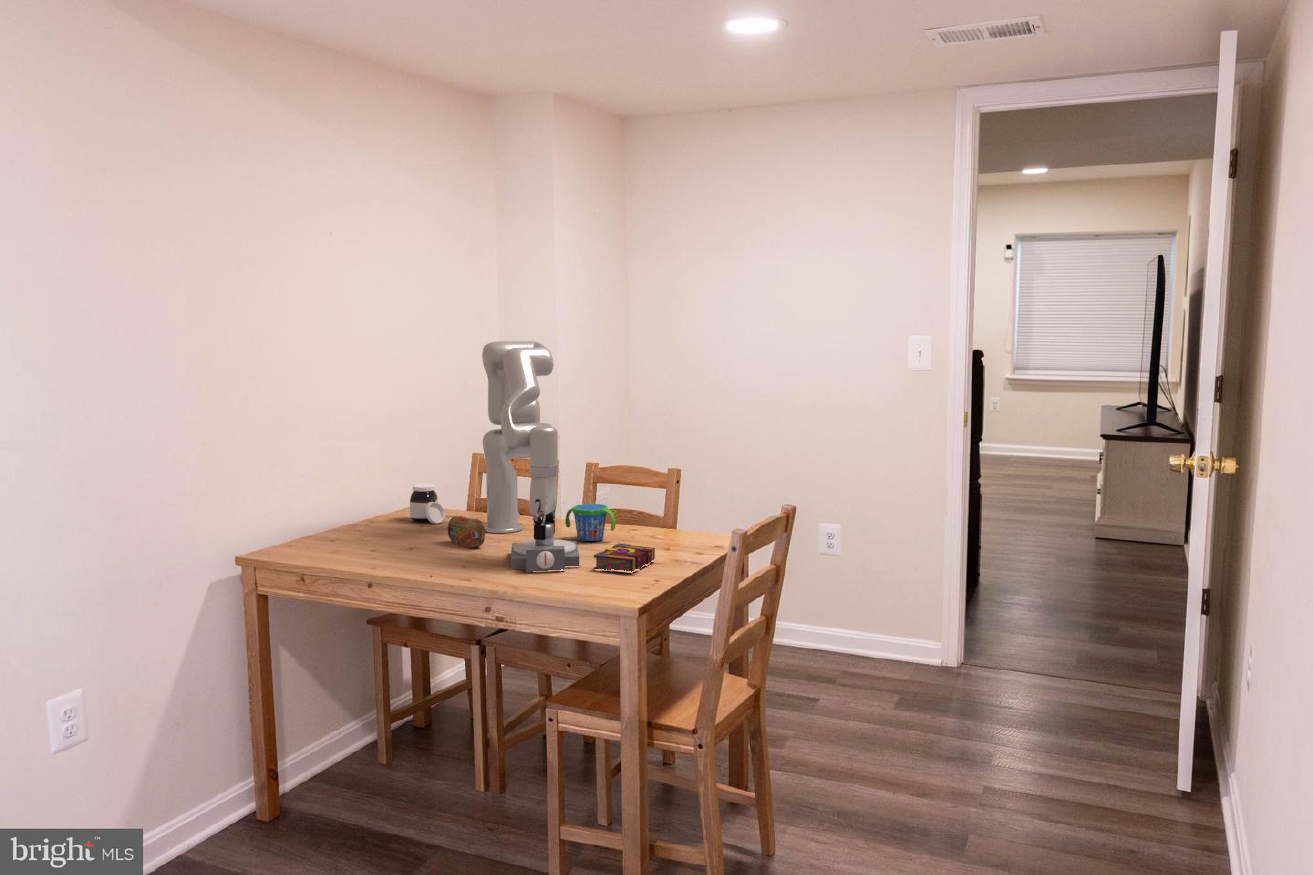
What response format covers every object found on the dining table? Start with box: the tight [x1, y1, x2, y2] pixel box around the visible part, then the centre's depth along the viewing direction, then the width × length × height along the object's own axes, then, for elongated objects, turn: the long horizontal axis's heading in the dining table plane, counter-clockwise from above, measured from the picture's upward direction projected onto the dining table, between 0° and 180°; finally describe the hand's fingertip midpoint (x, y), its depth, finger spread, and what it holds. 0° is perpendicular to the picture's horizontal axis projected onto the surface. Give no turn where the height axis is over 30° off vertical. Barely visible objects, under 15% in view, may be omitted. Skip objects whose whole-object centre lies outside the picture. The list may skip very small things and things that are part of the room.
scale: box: [510, 538, 580, 572], centre depth 267 cm, size 22×18×6 cm
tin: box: [447, 515, 486, 549], centre depth 287 cm, size 15×3×8 cm, turn 47°
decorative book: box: [593, 542, 656, 572], centre depth 263 cm, size 11×16×5 cm
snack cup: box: [564, 503, 617, 542], centre depth 294 cm, size 16×10×10 cm
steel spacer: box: [534, 522, 555, 546], centre depth 269 cm, size 5×5×6 cm
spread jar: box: [409, 483, 446, 525], centre depth 320 cm, size 12×11×12 cm
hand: (544, 536), depth 269 cm, fingers open, 7 cm apart
